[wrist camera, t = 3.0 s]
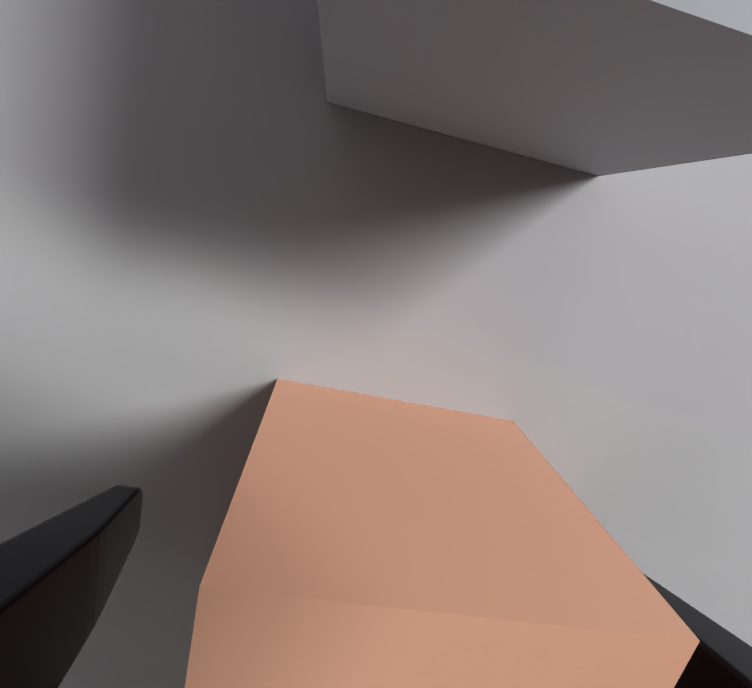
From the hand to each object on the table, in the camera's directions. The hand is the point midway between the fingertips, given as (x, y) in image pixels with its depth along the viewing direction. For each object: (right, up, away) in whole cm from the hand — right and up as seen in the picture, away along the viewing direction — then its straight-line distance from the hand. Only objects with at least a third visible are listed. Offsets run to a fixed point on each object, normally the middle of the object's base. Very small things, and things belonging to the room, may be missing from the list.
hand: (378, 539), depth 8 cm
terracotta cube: (0, 0, +1) cm, 1 cm away
